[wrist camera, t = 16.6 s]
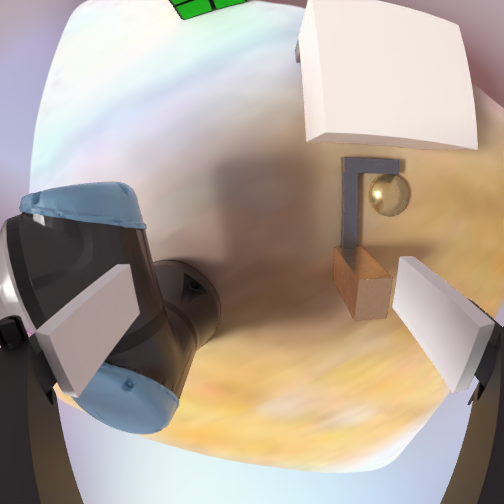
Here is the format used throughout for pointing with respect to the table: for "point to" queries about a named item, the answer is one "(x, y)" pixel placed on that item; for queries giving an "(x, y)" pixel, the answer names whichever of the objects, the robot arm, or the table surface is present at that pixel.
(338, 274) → the hook tool
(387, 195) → the brass token
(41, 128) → the table surface
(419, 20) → the cabinet
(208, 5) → the puzzle cube
